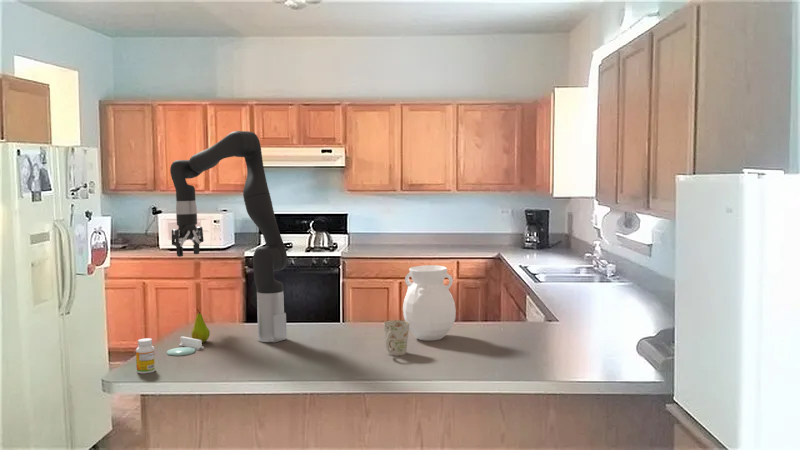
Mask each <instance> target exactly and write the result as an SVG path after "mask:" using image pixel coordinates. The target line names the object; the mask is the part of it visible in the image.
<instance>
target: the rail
mask: <svg viewBox="0 0 800 450" xmlns="http://www.w3.org/2000/svg"><path fill="white" fill-rule="evenodd" d="M179 338H180V340H179V341H180V343H179V344H178V346H179V347H189V348H194V349H195V351H199V350H204V349H205V348H204V347H205V346H203V344H202V340H198V339H193V338H192V337H188V336H184V335H183V336H180V337H179Z"/></svg>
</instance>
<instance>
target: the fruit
mask: <svg viewBox="0 0 800 450" xmlns="http://www.w3.org/2000/svg"><path fill="white" fill-rule="evenodd" d="M196 310H197V312H198V313H197V314H196V317H195V320H194V325H193V328H192V329H191V338H193V339H198V340H202V343H203V344H204V343H205V342H207V340H208V339H209V337H210V335H211V334H210V332H211V331H210V330H209V328H208V327H207V324H206V323H205V321H204V318H203V315H202V313H201V312H200V311H199V308H196Z"/></svg>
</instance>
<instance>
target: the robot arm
mask: <svg viewBox="0 0 800 450" xmlns="http://www.w3.org/2000/svg"><path fill="white" fill-rule="evenodd" d="M261 147H262V146H261V142H260V139H259V137H258V135H257V133H255V132H253V131H247V130H246V131H245V130H235V131H231V132H229V133H228V134H227V135H226V136H224V137H223V138H222V139H220V140H219V141H218V142H216V143H215V144H213V145H211V146H210V147H208V148H206V149H204V150H201V151H199V152H197V153H195V154H193V155H192V156H191V157H190V158H189V159H178V160H174V161H172V163H171V165H170V170H169V171H170V177H171V180H172V182H173V185H174V189H175V195H176V196H175V200H176V203H175V214H176V215H175V218H176V225H177V227H178V228H177V229H175V228H174V229H171V246H174V247H175V248H176V255H177V257H180V258H181V257H183V256H184V247H183V245H184V243H185V242H186V241H187V240H190V241H191V242H192V243H193V245H192V247H193V249H192V250H193V254H194V255H199V254H200V253H201V252H200V244H201V243H204V231H203V230H204V229H203V227H202V226H197V225H198V213H197V212H198V210H197V202H196V188H195V186H194V185H191V184H188V183H187V182H188V181H187V179H194V178H197V177H198V176H200V175H201V174H202V173H204V172H205V171H208V170H210V169H212V168H215V167H216V166H217V165H218V164H219V163H220V161H222V160H223V159H229V158H234V157H236V158H244V161H245V165H246V171H247V172H246V180H245V183H244V187H243V192H242V193H243V194H242V195H243V196H242V197H243V201H244V205H245V209H246V213H247V215H248V216H249V218H250V219H251V221H252V222H253V223H254V224H255V226H256V227H257V228H258V229H259V231H260V232H261V234H262V236H263V238H264V242H265V246H264V245H263V246H260V247H257V249H255V251H254V252H253V257H252V268H253V281H254V285H255V288H256V302H257V303H256V305H257V307H256V310H257V339H258V340H257V341H259V342H261V343H278V342H281V341H284V340H287V337H288V334H287V313H286V312H285V305H284V304H285V303H284V302H285V301H284V296H285V295H284V283H283V282H282V281H279V280H276V278H275V274H274V273H275V272H278V271H283V270H284V269H285V268H286V267H287V264H288V252H287V249H286V246H285V243H284V241H283V238H282V236H281V233H280V230H279V226H278V223H277V219H276V216H275V210H274V207H273V201H272V198H271V194H270V190H269V186H268V182H267V178H266V177H267V176H266V173H265V168H264V162H263V154H262V148H261Z"/></svg>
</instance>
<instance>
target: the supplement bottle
mask: <svg viewBox="0 0 800 450" xmlns="http://www.w3.org/2000/svg"><path fill="white" fill-rule="evenodd" d="M137 346H138V347H136V349H135V360H136V361H135V362H136V373H138V374H142V375H143V374H151V373H153V372H156V349H155V346H153V339H152V338H151V337H148V338H147V337H145V338H140V339H138V340H137Z"/></svg>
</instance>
